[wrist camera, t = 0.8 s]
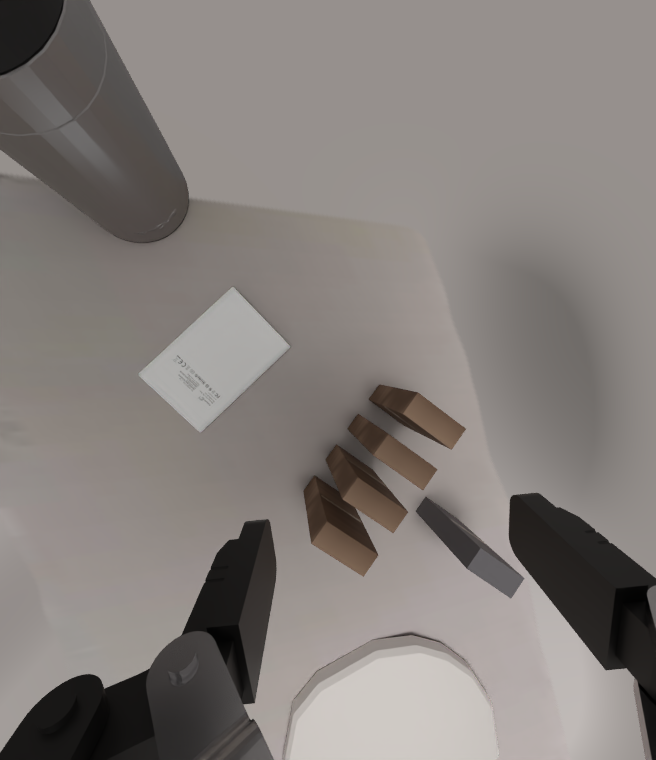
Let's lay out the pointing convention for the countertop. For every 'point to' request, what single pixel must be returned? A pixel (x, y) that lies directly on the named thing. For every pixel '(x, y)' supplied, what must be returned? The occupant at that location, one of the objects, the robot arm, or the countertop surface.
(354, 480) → the domino
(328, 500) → the domino
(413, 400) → the domino
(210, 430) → the countertop surface
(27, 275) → the countertop surface
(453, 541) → the domino
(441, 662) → the decorative plate
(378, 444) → the domino
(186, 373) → the external hard drive
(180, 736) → the robot arm
